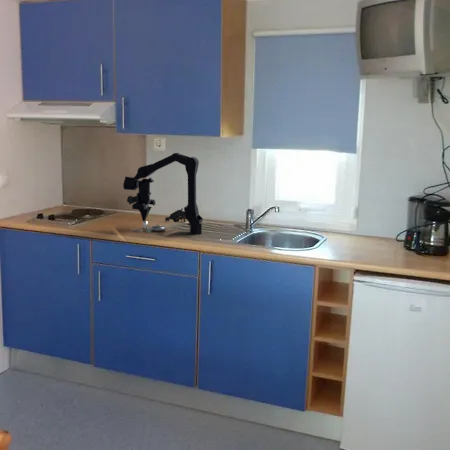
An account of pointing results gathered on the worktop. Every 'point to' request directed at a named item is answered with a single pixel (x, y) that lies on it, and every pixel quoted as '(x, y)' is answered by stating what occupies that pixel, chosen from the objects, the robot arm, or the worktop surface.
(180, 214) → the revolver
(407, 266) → the worktop surface
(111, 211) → the worktop surface
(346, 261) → the worktop surface
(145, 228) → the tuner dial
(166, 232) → the board
